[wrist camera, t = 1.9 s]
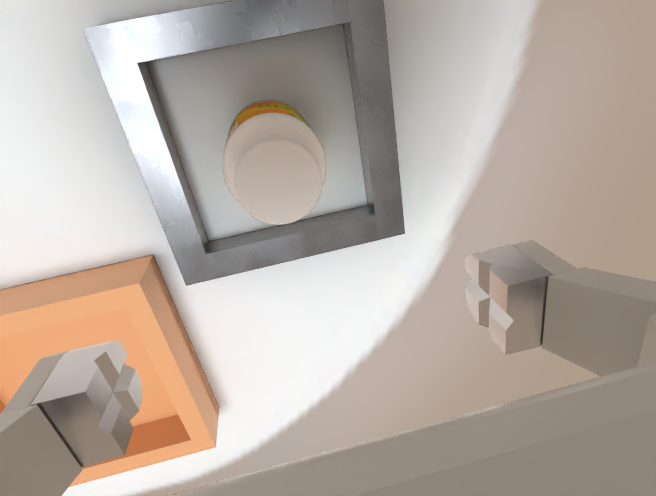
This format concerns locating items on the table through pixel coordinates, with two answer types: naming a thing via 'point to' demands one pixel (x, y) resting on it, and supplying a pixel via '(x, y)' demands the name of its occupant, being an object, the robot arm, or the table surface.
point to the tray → (138, 341)
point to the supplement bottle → (274, 163)
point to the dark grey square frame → (163, 161)
